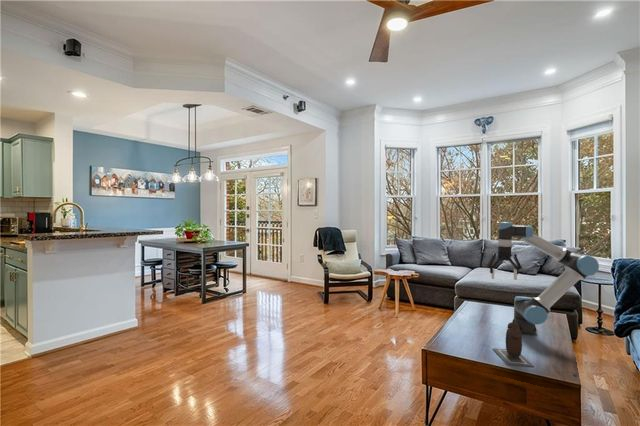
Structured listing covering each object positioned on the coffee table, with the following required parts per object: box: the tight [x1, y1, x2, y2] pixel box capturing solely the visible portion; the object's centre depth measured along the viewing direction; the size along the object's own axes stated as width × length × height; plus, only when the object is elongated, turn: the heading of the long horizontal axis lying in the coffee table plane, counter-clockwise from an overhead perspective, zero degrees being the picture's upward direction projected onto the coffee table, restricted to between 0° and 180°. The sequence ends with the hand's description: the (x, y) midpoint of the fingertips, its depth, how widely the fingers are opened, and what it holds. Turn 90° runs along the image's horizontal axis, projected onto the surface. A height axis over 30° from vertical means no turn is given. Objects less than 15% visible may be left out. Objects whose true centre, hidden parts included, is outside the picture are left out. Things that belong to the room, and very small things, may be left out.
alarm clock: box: [505, 318, 523, 359], centre depth 183 cm, size 15×7×20 cm, turn 155°
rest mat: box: [492, 348, 535, 368], centre depth 183 cm, size 13×20×1 cm, turn 172°
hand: (503, 279), depth 216 cm, fingers open, 13 cm apart
